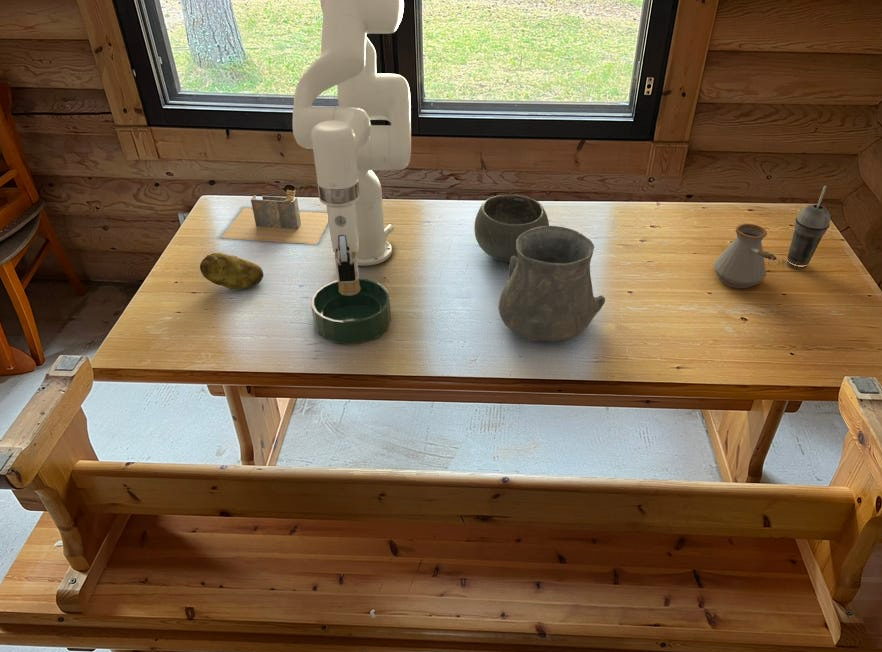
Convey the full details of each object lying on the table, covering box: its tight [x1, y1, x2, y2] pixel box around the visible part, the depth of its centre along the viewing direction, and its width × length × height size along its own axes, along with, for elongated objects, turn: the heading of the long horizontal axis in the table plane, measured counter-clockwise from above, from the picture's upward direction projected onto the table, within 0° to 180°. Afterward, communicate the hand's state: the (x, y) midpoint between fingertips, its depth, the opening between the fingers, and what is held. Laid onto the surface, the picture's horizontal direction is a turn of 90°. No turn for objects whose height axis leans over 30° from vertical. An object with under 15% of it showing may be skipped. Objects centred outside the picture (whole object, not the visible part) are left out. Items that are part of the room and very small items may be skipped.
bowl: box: [473, 194, 550, 263], centre depth 165 cm, size 18×18×13 cm
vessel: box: [498, 225, 606, 343], centre depth 141 cm, size 22×22×20 cm
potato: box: [199, 252, 264, 291], centre depth 156 cm, size 8×13×8 cm, turn 80°
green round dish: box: [310, 277, 392, 345], centre depth 146 cm, size 16×16×6 cm
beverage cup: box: [785, 185, 831, 271], centre depth 159 cm, size 7×7×20 cm
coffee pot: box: [713, 223, 781, 289], centre depth 152 cm, size 21×12×15 cm, turn 176°
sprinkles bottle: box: [334, 247, 360, 296], centre depth 138 cm, size 5×5×13 cm
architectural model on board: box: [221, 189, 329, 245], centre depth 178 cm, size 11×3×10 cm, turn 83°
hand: (347, 272), depth 140 cm, fingers closed on sprinkles bottle, 4 cm apart
